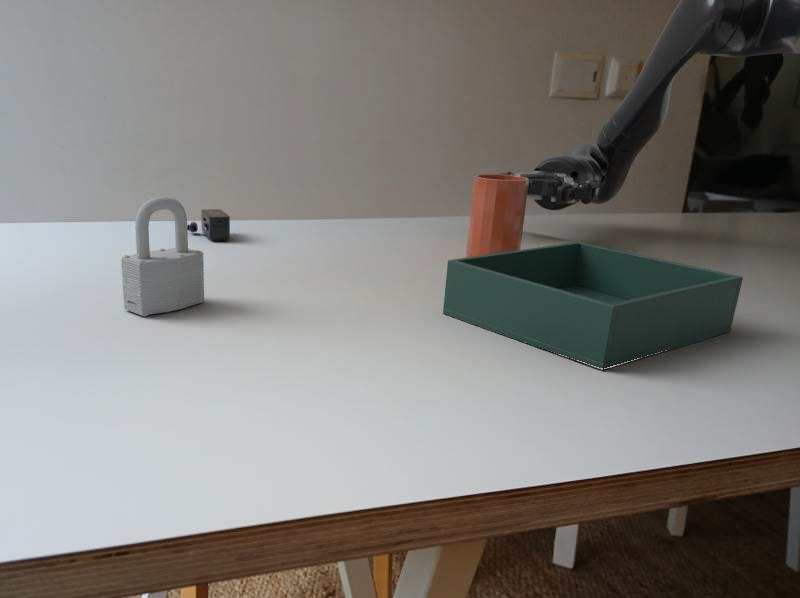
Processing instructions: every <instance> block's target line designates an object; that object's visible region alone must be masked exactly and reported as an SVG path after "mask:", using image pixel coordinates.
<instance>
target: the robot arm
mask: <svg viewBox="0 0 800 598" xmlns="http://www.w3.org/2000/svg"><path fill="white" fill-rule="evenodd" d="M775 54H795V55H800V0H679V2H678V3H677V5H676V7H675V8H674V9H673V11H672V13H671V14H670V17H669V19H668V21H667V22H666V24H665V26H664V28H663V30H662V32H661V33H660V35H659V37H658V39H657V40H656V42H655V44H654V46H653V47H652V50H651V51H650V53H649V55H648V57H647V59H646V61H645V62H644V65H643V66H642V68H641V70H640V72H639V74H638V76H637V77H636V80H635V81H634V82H633V84H632V86H631V87H630V89H629V91H628V92H627V94H626V95H625V96H624V98H623V99H622V101H621V102H620V103H619V105H618V106H617V107H616V108H615V110H614V111H613V112H612V113H611V115H610V116H609V117H608V119H607V120H606V121H605V122H604V124H603V125H602V126H601V128H600V129H599V131H598V132H597V135H596V145H595V144H594V143H591V142H582V143H579V144H578V145H576V146H574V147H573V148H572V149H571V150H570V151H569V152H568V153H567V154H566V155H562V156H556V157H550V158H547V159H545V160H543V161H541V162H540V163H539V164H538V165H537V166H535V168H534V169H533V171H531V172H516V173H515V174H514V172H512V171H507V172H502V173H498V174H499V175H513V176H520V177H525V178H528V179H529V185H528V193H527V199H531V200H533V201H534V202H535V203H536V204H537V206H539V207H541V208H543V209H545V210H549V211H560V210H563V209H565V208H569V207H571V206H573V205H576V204H579V203H581V204H583V205H589V204H593V205H603V204H606V203H608V202H610V201H612V200H613V199H614V198H615V197H616V196H617V195H618V194H619V192H620V191H621V190H622V187H623V186H624V183H625V181H626V179H627V177H628V174H629V171H630V169H631V167H632V165H633V163H634V161H635V159H636V157H637V156H638V154H639V153H640V152H641V151H642V150H643V148H644V147H646V145H647V144H648V142H650V140H651V139H652V138H653V137H654V136H655V135H656V134H657V132H658V131H659V130H660V128H661V127H662V126H663V124H664V122H665V121H666V118H667V115H668V112H669V108H670V103H671V102H670V101H671V94H672V93H671V92H672V86H673V83H674V80H675V78H676V76H677V74H679V72H680V71H681V69H682V68H683V67H684V66H685V65H686V64H687V63H688V62H689V61H690V60H691V59H692V58H693V57H695V56H696V55H704V56H714V57H724V58H745V57H753V56H762V55H775Z"/></svg>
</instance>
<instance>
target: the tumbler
mask: <svg viewBox="0 0 800 598" xmlns="http://www.w3.org/2000/svg"><path fill="white" fill-rule="evenodd" d="M499 174H500V173H494V174H493V173H484V174H483V173H482V174H481V173H480V174H474V176H473V185H472V186H473V187H472V195H471V197H472V198H471V206H470V213H469V225H468V234H467V243H466V255H465V258H467V257H474V256H481V255H488V254H496V253H503V252H510V251H517V250H521V247H522V238H523V230H524V223H525V215H526V207H527V201H528V198H527V193H528V185H529V179H528V178H525V177H520V176H514V174H513V175H499Z"/></svg>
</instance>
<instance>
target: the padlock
mask: <svg viewBox="0 0 800 598" xmlns="http://www.w3.org/2000/svg"><path fill="white" fill-rule="evenodd" d="M162 210H166V211H170V212H171V213H172V216H173V221H174V233H175V234H174V238H175V239H174V241H175V247H174V248H173V247H172V248H165V249H164V248H159V249H155V250H151V249H150V232H149V230H150V229H149V227H150V226H149V225H150V220H151V216H152V215H153V214H154V213H155V212H158V211H162ZM187 226H188V217H187V212H186V210H185V208H184V205H183V204H182V202H180V201H178V200H177V199H175V198H173V197H168V196H157V197H153V198H151V199H149V200H146V201H145V202H144V203H143V204H142V205H141V206H140V207H139V209H138V210H137V212H136V216H135V226H134V227H135V228H134V229H135V247H136V253H134V254H129V255H128V254H126V255H124V256H122V257H121V259H120V263H121V264H120V266H121V277H122V278H121V280H122V295H123V309H124V310H126V311H128V312H132V313H134V314H136V315H139V316H142V317H147V316H148V315H154V314H155V315H156V314H163V313H169V312H174V311H178V310H183V309H186V308H188V307H191V306H194V305H198V304H199V305H201V304H202V303H204V302H205V272H204V271H205V270H204V268H205V267H204V266H205V265H204V262H205V261H204V252H203V251H201V250H199V249H193V248H190V247H189V235H188V233H189V232H188V230H187Z"/></svg>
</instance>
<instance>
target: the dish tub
mask: <svg viewBox="0 0 800 598" xmlns="http://www.w3.org/2000/svg"><path fill="white" fill-rule="evenodd" d="M445 278H446V279H445V287H444V299H443V310H442V314H443V315H446V316H449V317H452V318H455V319H457V320H460V321H462V320H463V322H466V323H468V324H471V325H474V326H476V325H477V326H476V327H480V328H483V329H485V330H487V329H488V330H489V331H490V332H493V333H496V334H499V335H501V334H502V336H504V335H505V336H504V337H507V336H508V337H507V338H509V339H512V338H513V339H512V340H515V339H516V340H515V341H518V340H519V341H518V342H521V341H523V342H522V343H524V342H526V343H528V344H527V345H529V344H531V345H530V346H532V345H534V346H533V347H535V346H536V347H535V348H537V347H539V348H538V349H540V348H543V349H546V350H548V351H547V352H549V351H552V352H555V353H557V354H561V355H564V356H567V357H569V358H573V359H575V360H579V361H582V362H585V363H587V364H590V365H593V366H596V367H599V368H603V369H604V368H607V367H610V366H613V365H617V364H621V363H624V362H627V361H631V360H634V359H637V358H641V357H645V356H647V355H651V354H655V353H658V352H661V351H665V350H669V349H672V350H674V349H673V348H675V349H678V348H677V347H679V348H681V346H682V347H685V346H688V345H691V344H690V343H692V344H694V342H695V343H697V341H698V342H701V341H705V340H708V339H711V338H714V336H715V337H717V336H721V335H724V334H727V333H731V330H732V326H733V322H734V317H735V313H736V310H737V305H738V300H739V296H740V293H741V292H740V291H741V289H742V284H743V279H744V276H740V275H736V274H733V273H732V274H731V273H726V272H722V271H718V270H713V269H709V268H703V267H699V266H694V265H690V264H685V263H684V264H683V263H680V262H676V261H671V260H665V259H661V258H656V257H651V256H648V255H644V254H643V255H642V254H638V253H634V252H633V253H632V252H629V251H624V250H619V249H614V248H610V247H605V246H600V245H596V244H590V243H586V242H582V241H574V242H573V241H572V242H567V243H560V244H552V245H546V246H545V245H544V246H538V247H533V248H532V247H531V248H524V249H520V250H517V251H510V252H503V253H496V254H488V255H481V256H474V257H467V258H466V257H461V258H453V259H447V267H446V277H445ZM704 339H705V340H704ZM700 340H701V341H700ZM526 343H525V344H526ZM687 344H688V345H687ZM684 345H685V346H684ZM543 349H542V350H543ZM546 350H545V351H546ZM669 351H670V350H669ZM665 352H666V351H665ZM557 354H556V355H557Z"/></svg>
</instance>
